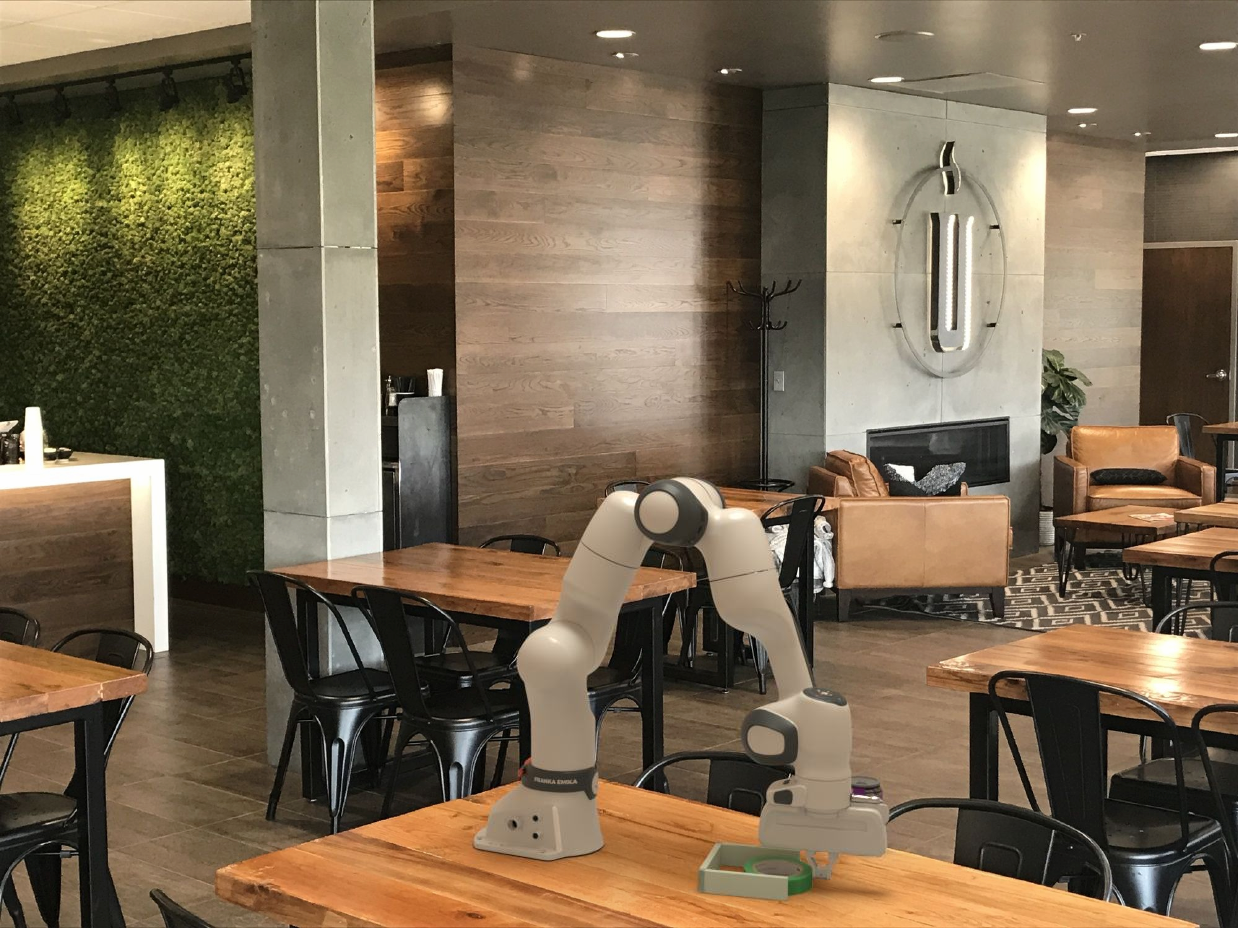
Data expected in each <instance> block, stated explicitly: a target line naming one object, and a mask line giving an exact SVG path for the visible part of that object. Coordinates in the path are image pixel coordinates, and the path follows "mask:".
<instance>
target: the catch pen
mask: <svg viewBox="0 0 1238 928" xmlns="http://www.w3.org/2000/svg"><path fill="white" fill-rule="evenodd" d="M801 852H802V850H794V849H783V848H772V847H763V846H762V845H756V844H744V843H736V842H734V843H733V842H723V841H716V842H715V844H714V846H713V847H712V849H711V850H710V852H708V855H707V856H706V858H705V859H704V861H703V862H702V864H701V865H700V867H699V869H698V871H697V873H698V875H697V877H698V878H697V879H698V880H697V883H698V884H697V892H698V893H702V894H710V895H723V896H731V897H732V896H733V897H742V898H753V899H760V900H761V899H762V900H764V899H765V900H771V901H780V902H781V901H782V902H787V901H788V899H789V897H788V877H786V876H781V875H765V874H754V873H744V871H743V872H742V871H732V870H720V868H721V866H729V867H741V868H744V865H745V863H747V862H748V861H750V860H753V859H757V858H763V857H785V858H791V859H796V860H800V861H801V857H802V855H801Z"/></svg>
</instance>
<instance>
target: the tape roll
mask: <svg viewBox="0 0 1238 928" xmlns="http://www.w3.org/2000/svg"><path fill="white" fill-rule="evenodd" d="M743 873H754V874H765V875H775V876H786V877H788V896H797V895H802V894H805V893H807V892H809V891H811V890H812V888H813V885H814V883H813V881H814V878H812V868H811V866H810V864H809V863H807V862H805V861H804V860H803V861H802V860H801V859H800V860H796V859H791V858H785V857H763V858H757V859H753V860H750V861H748V862H747V863H745V865H744V867H743ZM804 892H805V893H804Z"/></svg>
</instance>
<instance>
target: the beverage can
mask: <svg viewBox="0 0 1238 928" xmlns="http://www.w3.org/2000/svg"><path fill="white" fill-rule="evenodd" d="M851 794H855V795H864V796H868V797H869V796H877V797H880V799H882V800H884V798H883V795H884V793H883V789H882V788H881V781H880V779H878V778H877V777H872V776H868V775H867V776H866V775H851ZM851 802H852V801H851ZM880 803H882V802H880ZM882 804H883V803H882Z"/></svg>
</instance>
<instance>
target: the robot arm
mask: <svg viewBox="0 0 1238 928" xmlns="http://www.w3.org/2000/svg"><path fill="white" fill-rule="evenodd" d="M654 543H658V544H659V545H664V546H673V547H684V548H692V547H695V548H697V549H698V550H699V551H700V552H701V554H702V556H703V558H704V562H705V565H706V571H707V575H708V580H709V581H708V582H709V586H710V591H711V595H712V599H713V602H714V605H715V608H716V611H717V612H718V614H719V616H720V618H721V619H722V620H723V621H724V622H725V623H726V624H727V625H729V626H730V627H732V628H734V629H736V630H738V631H741V632H744V633H745V634H749V635H750V636H752V637H753V638H755V639H756V640H757V641H758V642H759V643H760V644H761V646H763V648H764V650H765V652H766V654H767V657H768V660H769V663H770V668H771V670H772V674H773V677H774V680H775V683H776V686H777V689H778V700H777V701H776V702H774V701H773V702H770V703H768V704H765V705H761V706H759V707H757V708H754V709H753V710H751V711H750V712H748V713H747V714H746V715H745V717H744V718H743V720H742V723H741V726H740V740H741V744H742V747H743V749H744V751H745V753H746V754H747V756H748V757H750V759H751V760H753V761H754V762H756V763H757V764H759V765H763V766H782V765H783V766H785V765H786V766H787V765H791V766H793V767H794V772H795V773H794V776H793V777H787V778H785V779H779V780H776V781H773V782H772V783H771V784H770V785H769V786H768V788H767V789H766V796H765V797H766V803H765V805H764V806H763V808H762V810H761V813H760V817H759V823H758V831H757V833H758V834H757V841H758V842H759V844H760V846H763V847H772V848H783V849H794V850H801V851H805V858H806V860H807V862H808V864H809V865H810V866H811V868H812V878H813V880H814V879H818V880H827V881H830V880H831V878H832V869H833V867H834V865H835V864H836V862H837V861H838V858H839V854H840V855H851V856H862V857H875V858H881V857H882V856H884V854H885V853H886V852H887V848H888V836H887V826H886V825H887V823H888V822H889V820H890V805H889V804H888V803H887V802H886V801H885V800H884V799H883V800H882V799H880V797H877V796H869V797H868V796H864V795H855V794H851V776H852V770H851V766H850V755H851V753H852V749H853V726H852V725H853V724H852V714H851V709H850V705H849V701H848V700H847V698H846V697H845V696H844V695H842V694H841V693H839V692H838V691H835V690H833V689H830V688H825V687H817V683H816V681H815V678H814V674H813V672H812V668H811V664H810V663H809V659H808V656H807V652H806V649H805V646H804V645H805V644H804V642H803V640H802V636H801V632H800V630H799V628H798V625H797V622H796V619H795V617H794V615H793V613H792V611H791V609H790V608H789V606H788V603H787V601H786V599H785V596H784V594H783V591H782V588H781V585H780V581H779V576H778V574H777V573H778V572H777V569H776V563H775V560H774V555H773V553H772V547H771V546H770V542H769V539H768V536H767V534H766V531H765V528H764V527H763V523H762V521H761V519H760V518H759V516H758V515H757V514H756V513H755V512H754V511H752V510H750V509H747V508H742V507H727V502H726V499H725V497H724V495H723V493H722V492H721V490H720V489H719V488H718V487H717V486H716V485H715V484H713V483H712V482H710V481H708V480H706V479H703V478H696V477H695V478H692V477H686V476H685V477H684V476H679V477H678V476H677V477H674V478H670V479H669V478H667V479H665V478H664V479H663V478H662V479H659V480H657V481H654V482H652V483H650V484H648V485H647V486H645V488H643V490H642V491H641V492H640V493H636V492H635V491H630V490H617V491H614V492H612V493H609V494H608V495H607V497H606V498H605V499H604V500H603V501H602V503H601V504H600V506H599V507H598V508H597V511H596V512H595V513H594V515H593V516H592V518H591V519H590V521H589V523H588V525H587V527H586V528H585V531H584V532H583V534H582V536H581V538H580V541H579V543H578V545H577V546H576V547H577V548H576V549H575V551H574V554H573V556H572V558H571V560H570V561H569V562H570V563H569V565H568V567H567V569H566V571H565V573H564V575H563V578H562V581H561V592H560V594H559V600H558V603H557V607H556V608H555V611H554V614H553V617H552V618H551V619H550V621H549V622H548V623H547V624H546V625H544V626H542V627H540V628H537V629H536V630H534V631H532V633H530V634H529V635H528V636H527V638H525V641H524V642H523V643H522V645H521V647H520V648H519V650H518V652H517V655H516V656H517V657H516V668H517V671H518V674H519V677H520V679H521V680H522V681H523V683H524V687H525V688H524V689H525V693H526V697H527V698H526V699H527V703H528V708H529V713H530V727H531V728H530V729H531V730H530V731H531V735H530V738H531V743H530V744H531V745H530V746H531V747H530V750H531V753H530V754H531V755H530V757H529V758H528V759H526V760H525V761H524V764H523V765H522V766H521V767H520V769H519V770H518V771H517V772H518V774H517V775H518V776H517V777H518V778H520V781H521V782H520V783H519V784H518V785H516V786H515V787H514V788H512V789H511V790H509V791H508V792H507V793H506V794H504V795H503V796H502V797H501V798H500V799H498V800H497V801H496V802H494V803H493V805H492V807H491V809H490V811H489V814H488V818H487V823H486V826H485V827H483V828H481V829H480V830H479V831H478V832H477V833H476V834H475V835H474V837H473V847H474V848H475V849H478V850H483V851H489V852H495V853H500V854H506V855H514V856H518V857H519V856H520V857H526V858H531V859H535V860H543V861H553V860H557V859H558V860H559V859H562V858H565V857H567V858H568V857H574V856H575V857H576V856H580V855H581V856H582V855H586V854H590V853H594V852H596V851H598V850H599V849H601V848H602V847H603V846H604V845H605V840H604V837H603V835H602V834H603V833H602V830H601V826H600V819H599V813H598V803H597V796H598V792H599V772H598V771H599V769H598V762H596V717H595V714H594V713H593V710H592V709H591V703H590V699H589V693H588V687H587V680H588V676H589V675H591V674H592V673H593V672H595V671H596V670H597V669H598V668H599V667H600V665H601V663H602V662H603V661H604V659H605V656H606V654H607V652H608V651H607V650H608V647H609V644H610V641H611V639H612V636H613V632H614V630H615V626H616V624H617V620H618V616H619V613H620V611H621V609H622V608H621V607H622V605H623V604H624V601H625V599H626V597H627V595H628V593H629V590H630V589H631V586H632V584H633V582H634V580H635V578H636V575H637V573H638V571H639V570H640V567H641V566H642V563H643V560H644V558H645V556H646V554H647V552H648V550H649V549H650V547H651V546H652V544H654ZM851 801H852V802H851ZM880 802H882V803H880ZM817 852H818V853H828V854H827V856H828V857H827V858H828V860H830V861H829V862H828V863H827V864H826V865H822V864H821V865H820V864H818V862H817V860H816V859H815V856H816V853H817Z"/></svg>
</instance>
